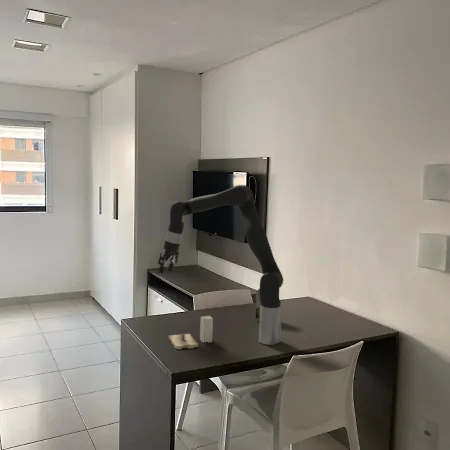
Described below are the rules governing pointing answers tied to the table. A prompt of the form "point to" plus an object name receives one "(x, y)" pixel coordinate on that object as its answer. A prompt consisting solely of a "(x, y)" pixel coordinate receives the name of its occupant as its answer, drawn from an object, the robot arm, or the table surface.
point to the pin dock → (182, 341)
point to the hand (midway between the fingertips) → (165, 272)
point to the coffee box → (257, 306)
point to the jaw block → (206, 329)
